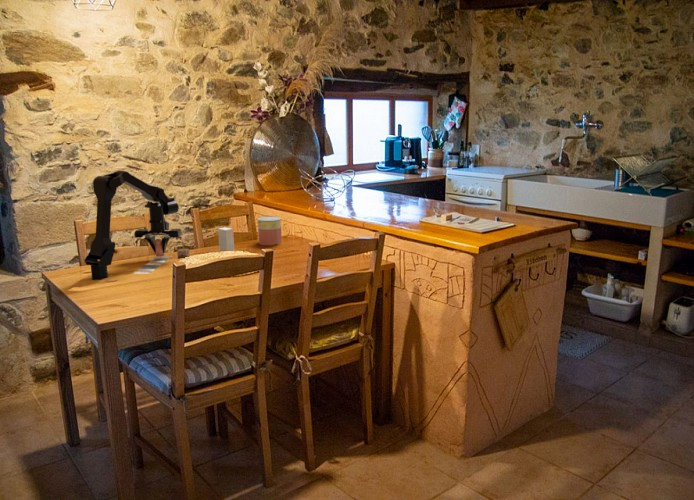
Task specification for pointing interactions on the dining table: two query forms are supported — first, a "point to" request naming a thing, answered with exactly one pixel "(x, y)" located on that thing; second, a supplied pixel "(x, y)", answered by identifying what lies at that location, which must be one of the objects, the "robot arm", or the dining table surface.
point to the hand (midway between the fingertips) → (159, 252)
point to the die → (183, 253)
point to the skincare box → (226, 239)
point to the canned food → (269, 230)
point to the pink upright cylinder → (159, 248)
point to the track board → (152, 265)
